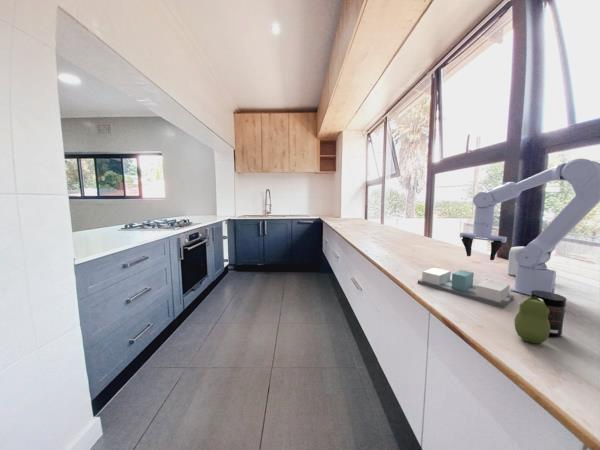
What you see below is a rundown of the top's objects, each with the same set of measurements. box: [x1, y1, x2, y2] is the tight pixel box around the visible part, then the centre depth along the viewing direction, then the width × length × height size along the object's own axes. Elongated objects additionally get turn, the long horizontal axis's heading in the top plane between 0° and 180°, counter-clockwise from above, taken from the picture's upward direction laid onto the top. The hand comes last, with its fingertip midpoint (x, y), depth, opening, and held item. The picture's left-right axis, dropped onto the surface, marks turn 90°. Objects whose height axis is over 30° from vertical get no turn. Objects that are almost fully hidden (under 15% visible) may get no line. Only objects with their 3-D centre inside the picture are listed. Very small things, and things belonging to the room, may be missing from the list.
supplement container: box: [529, 290, 568, 338], centre depth 56 cm, size 6×6×9 cm
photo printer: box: [507, 245, 525, 277], centre depth 95 cm, size 10×4×12 cm, turn 39°
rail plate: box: [417, 267, 514, 309], centre depth 82 cm, size 25×11×4 cm, turn 36°
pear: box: [514, 295, 550, 344], centre depth 52 cm, size 6×5×10 cm
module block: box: [451, 269, 475, 291], centre depth 82 cm, size 4×7×5 cm, turn 126°
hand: (480, 257), depth 93 cm, fingers open, 7 cm apart
